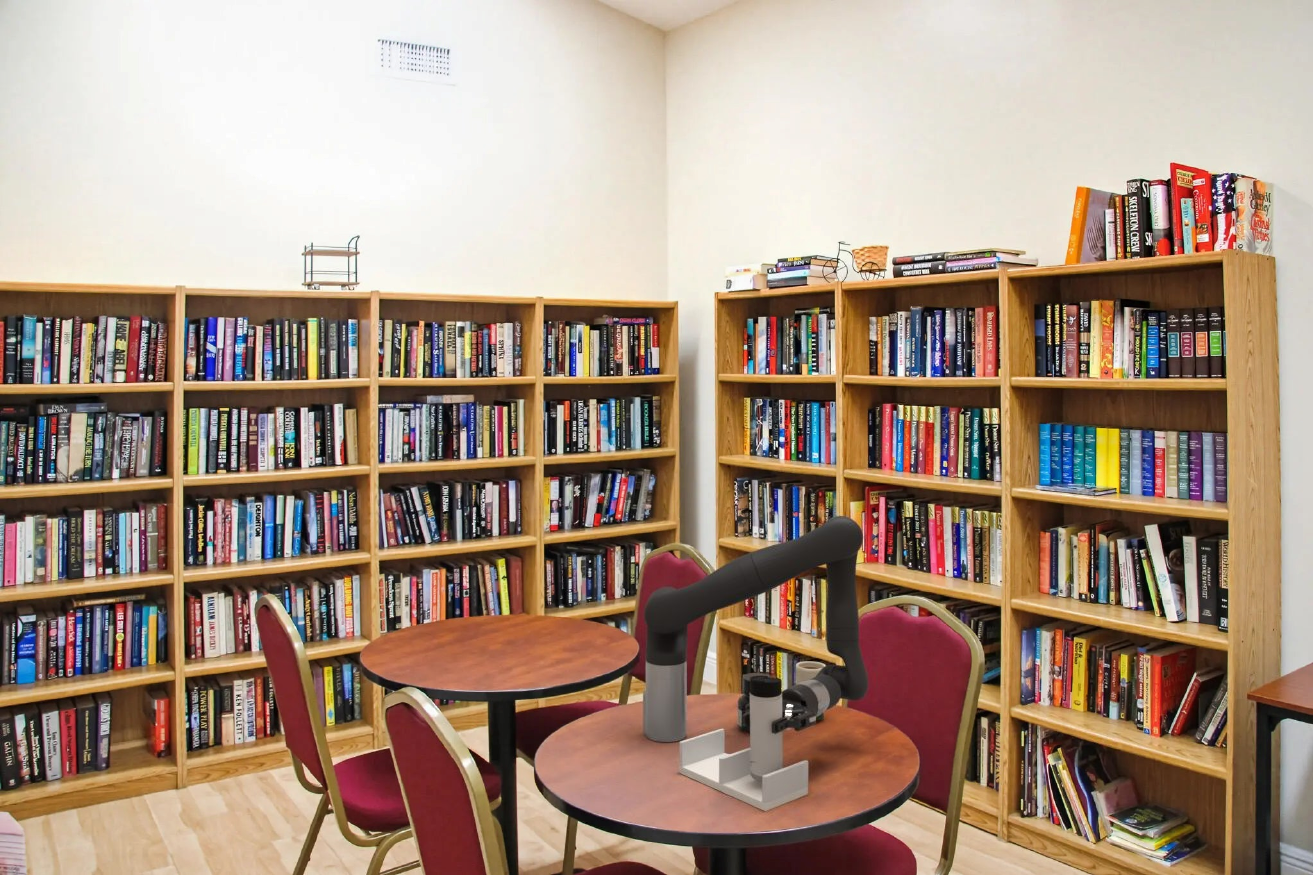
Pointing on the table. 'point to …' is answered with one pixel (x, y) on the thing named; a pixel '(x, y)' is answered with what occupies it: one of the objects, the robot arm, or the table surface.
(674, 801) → the table surface
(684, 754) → the rack
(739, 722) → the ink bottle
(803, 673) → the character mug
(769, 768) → the travel mug
